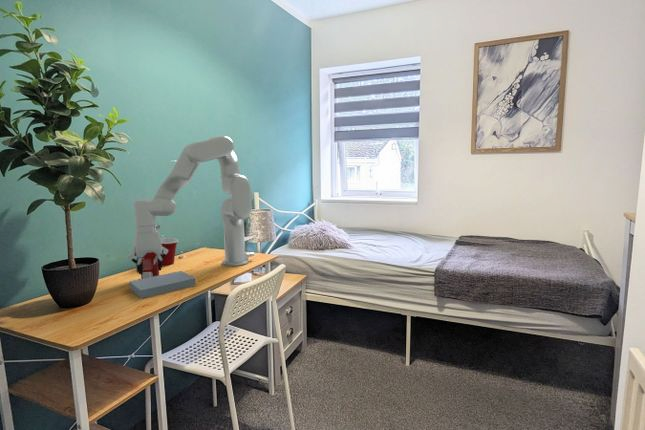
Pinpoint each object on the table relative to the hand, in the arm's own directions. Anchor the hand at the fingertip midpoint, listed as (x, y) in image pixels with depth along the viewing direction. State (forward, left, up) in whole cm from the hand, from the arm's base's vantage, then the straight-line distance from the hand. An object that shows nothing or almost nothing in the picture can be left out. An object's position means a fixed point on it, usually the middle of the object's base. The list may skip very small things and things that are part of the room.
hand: (149, 271), depth 150 cm
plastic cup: (-14, -19, -4) cm, 24 cm away
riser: (0, +15, -3) cm, 15 cm away
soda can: (0, 0, -4) cm, 4 cm away
